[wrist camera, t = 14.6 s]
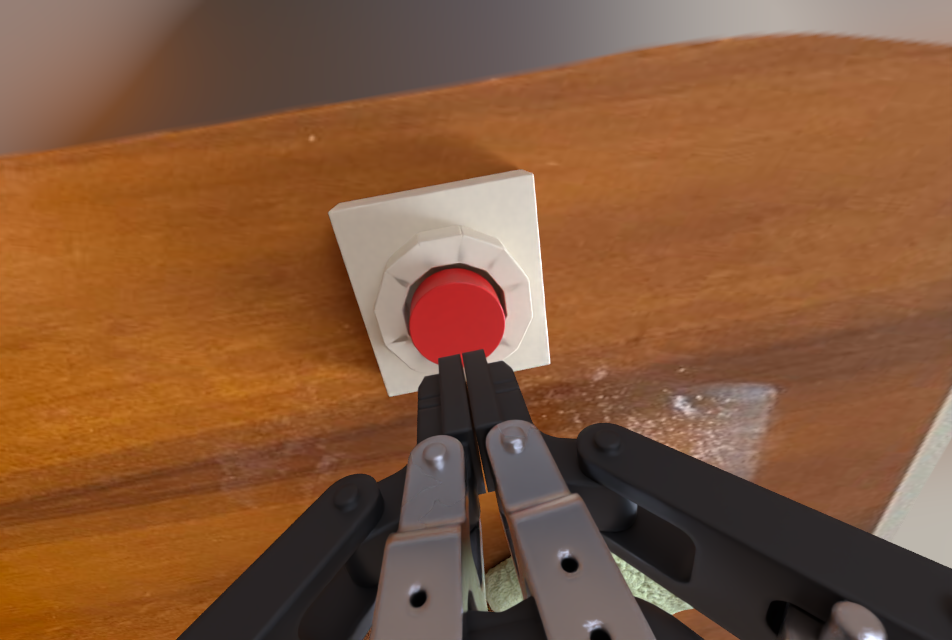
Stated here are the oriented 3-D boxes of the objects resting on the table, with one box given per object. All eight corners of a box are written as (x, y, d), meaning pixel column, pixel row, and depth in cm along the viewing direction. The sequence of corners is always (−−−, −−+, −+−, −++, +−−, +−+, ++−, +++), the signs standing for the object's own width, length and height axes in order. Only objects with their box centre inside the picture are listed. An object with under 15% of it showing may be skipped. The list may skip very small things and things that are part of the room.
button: (400, 277, 17) (398, 292, 15) (492, 259, 17) (499, 272, 15) (421, 355, 18) (421, 376, 17) (504, 339, 18) (510, 358, 17)
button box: (337, 203, 18) (316, 220, 15) (522, 168, 19) (545, 177, 15) (391, 374, 23) (385, 419, 19) (540, 344, 23) (561, 383, 20)
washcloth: (589, 635, 39) (602, 675, 36) (468, 572, 32) (472, 615, 29) (700, 569, 36) (724, 607, 33) (592, 483, 29) (611, 522, 26)
